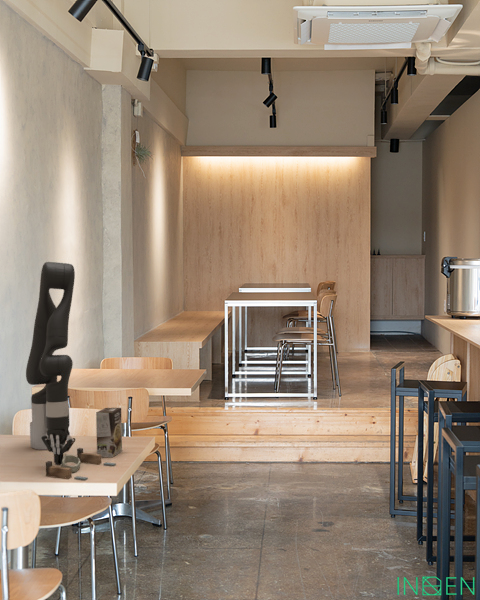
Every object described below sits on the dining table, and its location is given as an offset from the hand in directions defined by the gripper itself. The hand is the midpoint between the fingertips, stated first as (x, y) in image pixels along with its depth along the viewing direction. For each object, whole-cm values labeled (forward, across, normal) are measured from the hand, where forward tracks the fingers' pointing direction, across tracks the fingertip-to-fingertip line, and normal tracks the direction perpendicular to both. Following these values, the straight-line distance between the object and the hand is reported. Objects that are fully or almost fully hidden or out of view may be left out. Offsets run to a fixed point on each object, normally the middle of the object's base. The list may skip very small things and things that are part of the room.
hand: (59, 464), depth 218 cm
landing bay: (+1, +15, 0) cm, 15 cm away
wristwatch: (+1, +6, -1) cm, 6 cm away
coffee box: (+1, +7, +20) cm, 21 cm away
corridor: (+1, +6, 0) cm, 6 cm away
